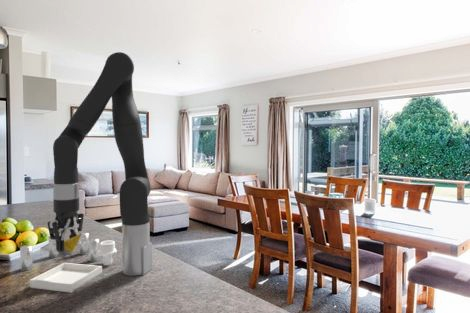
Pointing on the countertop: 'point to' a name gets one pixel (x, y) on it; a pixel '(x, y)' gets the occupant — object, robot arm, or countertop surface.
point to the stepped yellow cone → (69, 246)
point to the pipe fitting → (107, 251)
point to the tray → (66, 277)
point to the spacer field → (84, 248)
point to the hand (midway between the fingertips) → (67, 248)
